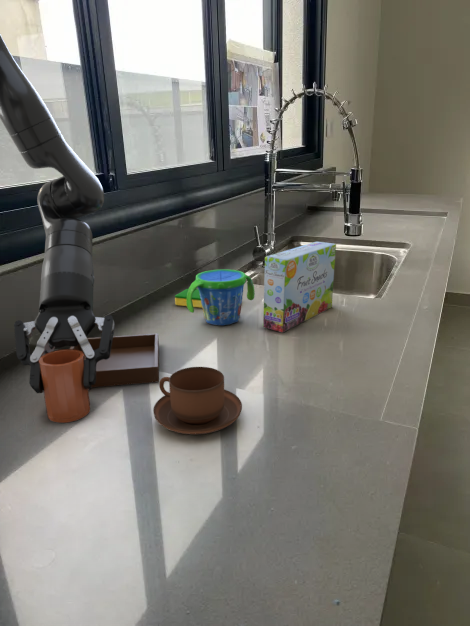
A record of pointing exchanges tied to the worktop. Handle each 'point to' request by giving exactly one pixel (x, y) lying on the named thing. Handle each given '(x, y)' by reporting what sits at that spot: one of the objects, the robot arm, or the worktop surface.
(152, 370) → the tray
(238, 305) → the snack cup
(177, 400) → the cup and saucer
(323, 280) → the snack box
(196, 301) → the dish sponge
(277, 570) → the worktop surface
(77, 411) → the tumbler
